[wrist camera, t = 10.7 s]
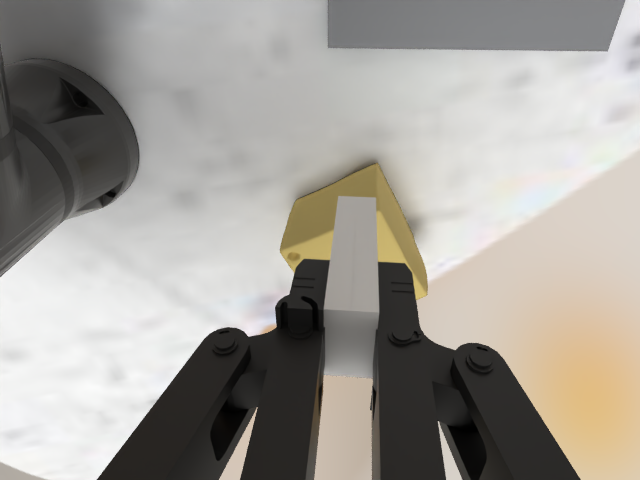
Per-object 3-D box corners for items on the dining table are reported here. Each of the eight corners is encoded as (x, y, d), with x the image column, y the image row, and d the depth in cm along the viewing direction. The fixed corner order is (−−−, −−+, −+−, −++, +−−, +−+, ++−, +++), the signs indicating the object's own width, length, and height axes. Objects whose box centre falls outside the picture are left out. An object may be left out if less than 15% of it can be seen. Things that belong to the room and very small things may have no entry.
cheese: (336, 268, 50) (329, 331, 41) (289, 195, 45) (271, 249, 36) (420, 237, 46) (431, 298, 38) (379, 154, 41) (382, 203, 33)
